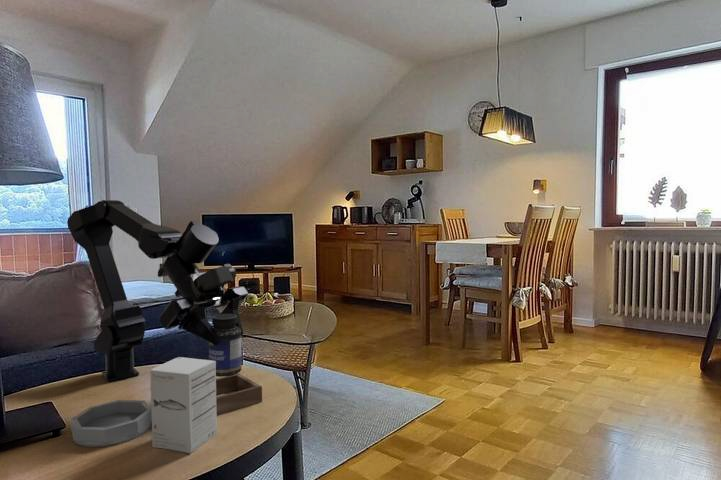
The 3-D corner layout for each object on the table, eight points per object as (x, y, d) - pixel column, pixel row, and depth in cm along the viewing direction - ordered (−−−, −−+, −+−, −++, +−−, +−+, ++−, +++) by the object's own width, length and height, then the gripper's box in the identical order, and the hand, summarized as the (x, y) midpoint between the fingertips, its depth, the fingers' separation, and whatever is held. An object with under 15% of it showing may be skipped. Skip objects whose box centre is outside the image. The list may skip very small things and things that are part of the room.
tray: (67, 428, 82) (66, 412, 82) (140, 409, 89) (139, 394, 89) (80, 454, 73) (79, 437, 73) (160, 431, 80) (159, 415, 80)
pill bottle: (202, 374, 92) (200, 317, 91) (225, 365, 97) (223, 311, 96) (226, 379, 89) (225, 321, 88) (248, 369, 94) (247, 314, 93)
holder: (191, 399, 94) (191, 384, 94) (239, 387, 100) (238, 373, 100) (212, 416, 86) (212, 400, 86) (262, 401, 93) (261, 386, 92)
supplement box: (150, 448, 75) (147, 369, 74) (181, 427, 82) (179, 355, 81) (190, 455, 72) (187, 373, 72) (219, 433, 79) (216, 359, 79)
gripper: (169, 256, 85) (216, 324, 81) (241, 248, 101) (283, 304, 97) (140, 296, 89) (184, 362, 85) (214, 282, 106) (254, 337, 101)
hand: (230, 339), depth 92 cm, fingers closed on pill bottle, 6 cm apart
